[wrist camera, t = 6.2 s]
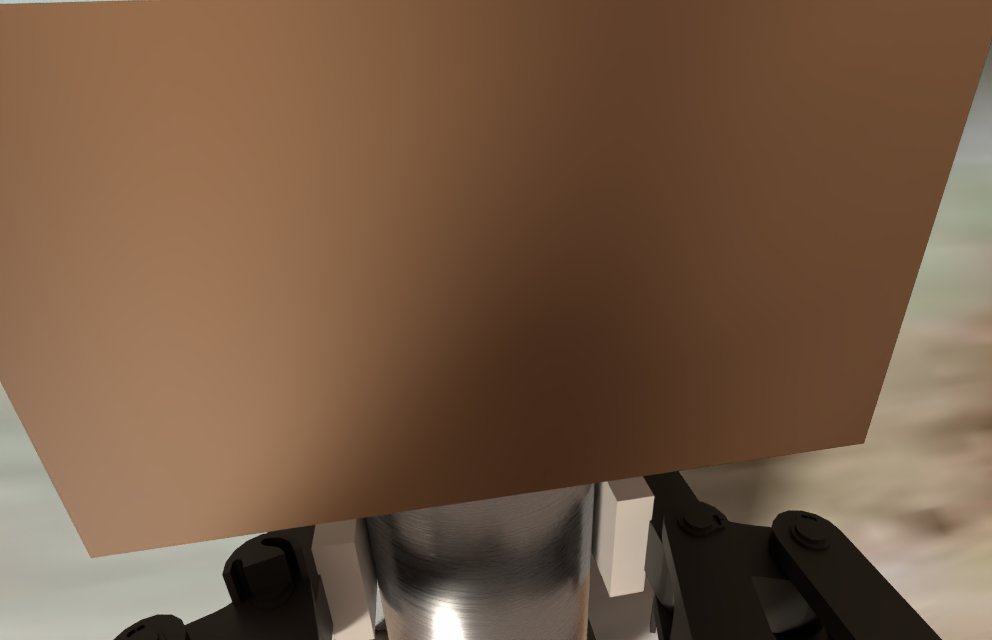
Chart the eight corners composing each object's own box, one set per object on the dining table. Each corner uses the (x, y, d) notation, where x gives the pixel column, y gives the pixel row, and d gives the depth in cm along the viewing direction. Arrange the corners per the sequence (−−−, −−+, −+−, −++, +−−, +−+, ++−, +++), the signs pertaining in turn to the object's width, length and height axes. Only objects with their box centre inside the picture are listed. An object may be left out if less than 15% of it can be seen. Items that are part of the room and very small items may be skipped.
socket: (276, 262, 14) (90, 557, 6) (227, 48, 12) (-189, 9, 4) (605, 233, 15) (863, 443, 7) (616, 34, 13) (1011, -24, 5)
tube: (556, 713, 21) (600, 897, 16) (422, 740, 20) (428, 940, 15) (563, 185, 12) (664, 259, 7) (328, 203, 11) (280, 296, 7)
